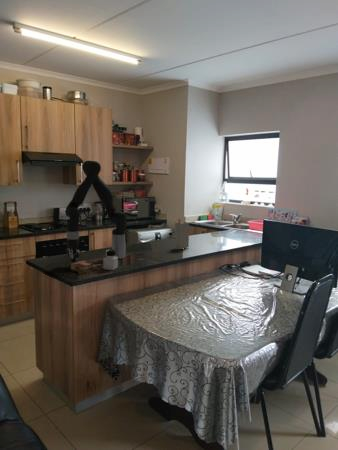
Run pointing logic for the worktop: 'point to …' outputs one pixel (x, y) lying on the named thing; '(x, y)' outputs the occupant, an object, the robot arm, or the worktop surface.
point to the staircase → (181, 235)
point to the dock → (88, 268)
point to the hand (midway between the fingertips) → (73, 264)
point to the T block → (80, 264)
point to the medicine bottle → (110, 260)
